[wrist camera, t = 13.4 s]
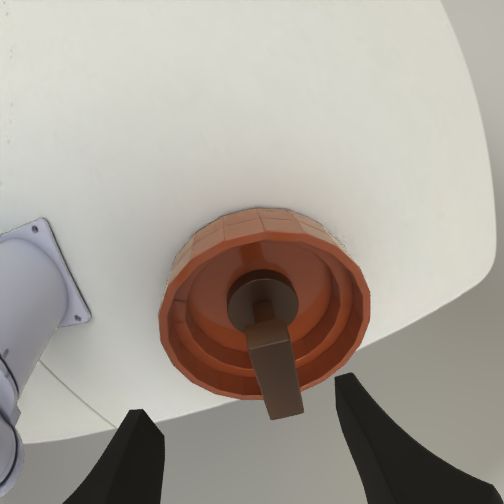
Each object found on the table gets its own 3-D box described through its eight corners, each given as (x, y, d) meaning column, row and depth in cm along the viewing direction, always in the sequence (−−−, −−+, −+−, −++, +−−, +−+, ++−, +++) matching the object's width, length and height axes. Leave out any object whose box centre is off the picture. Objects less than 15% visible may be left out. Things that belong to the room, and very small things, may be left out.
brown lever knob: (238, 338, 21) (246, 425, 15) (216, 269, 19) (215, 355, 12) (300, 323, 21) (328, 407, 15) (287, 252, 19) (322, 331, 12)
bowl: (200, 372, 23) (199, 412, 20) (142, 233, 18) (124, 264, 14) (350, 337, 23) (368, 373, 20) (339, 186, 18) (366, 207, 14)
